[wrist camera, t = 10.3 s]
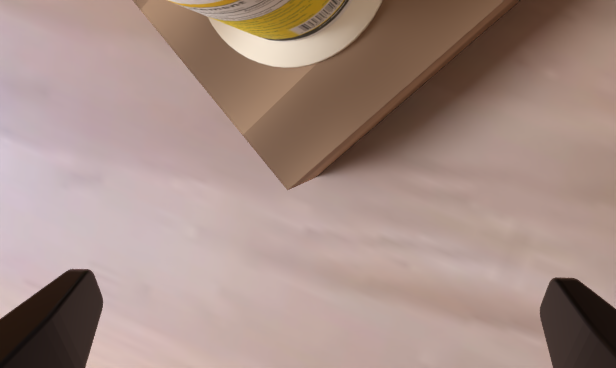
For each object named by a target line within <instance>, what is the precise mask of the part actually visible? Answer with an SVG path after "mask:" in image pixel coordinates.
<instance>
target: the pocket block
mask: <svg viewBox="0 0 616 368" xmlns="http://www.w3.org/2000/svg"><path fill="white" fill-rule="evenodd" d="M133 1H134V3H135V4H136V5H137V6H138V8H139V9H140V10H141V11H142V12H143V14H144V15H145V16H146V17H147V19H148V20H149V21H150V22H151V23H152V25H153V26H154V27H155V28H156V30H157V31H158V32H159V33H160V34H161V36H162V37H163V38H164V39H165V41H166V42H167V43H168V44H169V45H170V47H171V48H172V49H173V50H174V52H175V53H176V54H177V55H178V57H179V58H180V59H181V60H182V61H183V63H184V64H185V65H186V66H187V68H188V69H189V70H190V71H191V72H192V74H193V75H194V76H195V77H196V79H197V80H198V81H199V82H200V83H201V85H202V86H203V87H204V88H205V90H206V91H207V92H208V93H209V95H210V96H211V97H212V98H213V99H214V101H215V102H216V103H217V104H218V106H219V107H220V108H221V109H222V110H223V112H224V113H225V114H226V115H227V117H228V118H229V119H230V120H231V121H232V123H233V124H234V125H235V126H236V128H237V129H238V130H239V131H240V132H241V134H242V135H243V136H244V137H245V139H246V140H247V141H248V142H249V144H250V145H251V146H252V147H253V148H254V150H255V151H256V152H257V153H258V155H259V156H260V157H261V158H262V159H263V161H264V162H265V163H266V164H267V166H268V167H269V168H270V169H271V170H272V172H273V173H274V174H275V175H276V177H277V178H278V179H279V180H280V182H281V183H282V184H283V185H284V186H285V188H286V189H287V190H289V189H291V188H293V187H296V186H298V185H300V184H302V183H304V182H307V181H309V180H311V179H313V178H315V177H317V176H318V175H319V174H320V173H321V172H323V171H324V170H325V169H326V168H327V167H328V166H329V165H331V164H332V163H333V162H334V161H335V160H336V159H338V158H339V157H340V156H341V155H342V154H343V153H345V152H346V151H347V150H348V149H349V148H350V147H351V146H353V145H354V144H355V143H356V142H357V141H358V140H360V139H361V138H362V137H363V136H364V135H365V134H366V133H368V132H369V131H370V130H371V129H372V128H373V127H375V126H376V125H377V124H378V123H379V122H380V121H381V120H383V119H384V118H385V117H386V116H387V115H388V114H390V113H391V112H392V111H393V110H394V109H395V108H397V107H398V106H399V105H400V104H401V103H402V102H403V101H405V100H406V99H407V98H408V97H409V96H410V95H412V94H413V93H414V92H415V91H416V90H417V89H418V88H420V87H421V86H422V85H423V84H424V83H425V82H427V81H428V80H429V79H430V78H431V77H432V76H433V75H435V74H436V73H437V72H438V71H439V70H440V69H442V68H443V67H444V66H445V65H446V64H447V63H449V62H450V61H451V60H452V59H453V58H454V57H455V56H457V55H458V54H459V53H460V52H461V51H462V50H464V49H465V48H466V47H467V46H468V45H469V44H470V43H472V42H473V41H474V40H475V39H476V38H477V37H479V36H480V35H481V34H482V33H483V32H484V31H486V30H487V29H488V28H489V27H490V26H491V25H492V24H494V23H495V22H496V21H497V20H498V19H499V18H501V17H502V16H503V15H504V14H505V13H506V12H507V11H509V10H510V9H511V8H512V7H513V6H514V5H516V4H517V3H518V2H519V1H520V0H352V2H351V3H350V5H349V6H348V8H347V9H346V10H345V12H344V13H343V14H342V15H341V16H340V17H339V18H338V19H337V20H336V21H335V22H334V23H333V24H332V25H331V26H329V27H328V28H326V29H325V30H323V31H322V32H320V33H318V34H316V35H314V36H312V37H309V38H306V39H302V40H298V41H288V42H279V41H272V40H267V39H264V38H261V37H258V36H255V35H252V34H249V33H247V32H244V31H242V30H239V29H237V28H234V27H232V26H230V25H227V24H224V23H222V22H220V21H217V20H215V19H212V18H210V17H207V16H205V15H202V14H200V13H197V12H195V11H192V10H190V9H188V8H185V7H182V6H180V5H177V4H175V3H172V2H170V1H167V0H133Z"/></svg>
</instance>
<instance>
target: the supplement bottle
mask: <svg viewBox="0 0 616 368" xmlns="http://www.w3.org/2000/svg"><path fill="white" fill-rule="evenodd" d="M167 1H170V2H172V3H175V4H177V5H180V6H182V7H185V8H188V9H190V10H192V11H195V12H197V13H200V14H202V15H205V16H207V17H210V18H212V19H215V20H217V21H220V22H222V23H224V24H227V25H230V26H232V27H234V28H237V29H239V30H242V31H244V32H247V33H249V34H252V35H255V36H258V37H261V38H264V39H267V40H272V41H279V42H288V41H298V40H302V39H306V38H309V37H312V36H314V35H316V34H318V33H320V32H322V31H323V30H325V29H326V28H328V27H329V26H331V25H332V24H333V23H334V22H335V21H336V20H337V19H338V18H339V17H340V16H341V15H342V14H343V13H344V12H345V10H346V9H347V8H348V6H349V5H350V3H351V2H352V0H167Z"/></svg>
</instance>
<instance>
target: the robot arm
mask: <svg viewBox="0 0 616 368" xmlns="http://www.w3.org/2000/svg"><path fill="white" fill-rule="evenodd" d="M102 308H103V298H102V294H101V292H100V289H99V286H98V284H97V281H96V278H95V276H94V274H93V272H92V271H91V270H88V269H70V270H68V271H66V272H65V273H63V274H62V275H60V276H59V277H58V278H56V279H55V280H54V281H52V282H51V283H49V284H48V285H47V286H45V287H44V288H42V289H41V290H40V291H38V292H37V293H36V294H34V295H33V296H31V297H30V298H29V299H27V300H26V301H24V302H23V303H22V304H20V305H19V306H18V307H16V308H15V309H13V310H12V311H11V312H9V313H8V314H6V315H5V316H4V317H2V318H1V319H0V368H85V367H86V363H87V360H88V356H89V353H90V349H91V346H92V343H93V339H94V336H95V332H96V329H97V325H98V322H99V319H100V315H101V312H102ZM540 318H541V322H542V326H543V330H544V334H545V338H546V342H547V346H548V349H549V353H550V357H551V361H552V365H553V368H616V309H615V308H614V307H613V306H611V305H610V304H609V303H607V302H606V301H605V300H604V299H602V298H601V297H600V296H598V295H597V294H596V293H595V292H593V291H592V290H591V289H589V288H588V287H587V286H585V285H584V284H583V283H582V282H580V281H579V280H577V279H575V278H553V279H552V280H551V281H550V283H549V285H548V288H547V290H546V293H545V296H544V298H543V301H542V303H541V307H540Z"/></svg>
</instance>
